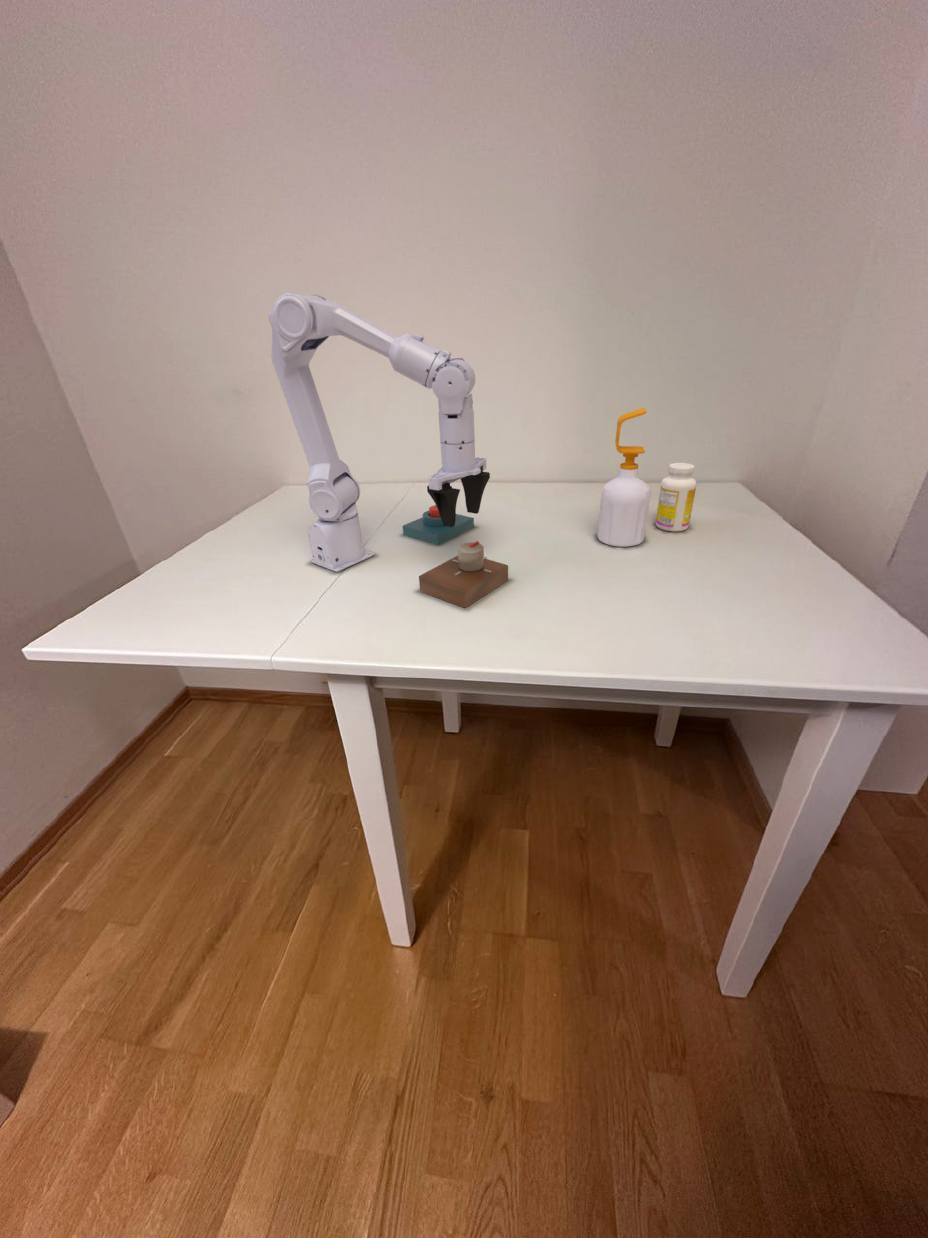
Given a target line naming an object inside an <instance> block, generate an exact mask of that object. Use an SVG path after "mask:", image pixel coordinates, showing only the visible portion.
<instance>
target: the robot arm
mask: <svg viewBox="0 0 928 1238" xmlns="http://www.w3.org/2000/svg"><path fill="white" fill-rule="evenodd" d="M268 320H269V321H268V322H269V324H270V327H271V330H272V331H271V357H270V358H271V362H272V365H273V368H274V370H275V373H276V376H277V379H278V382H279V385H280V388H281V390H282V393H283V396H284V398H285V399H284V400H285V402H286V404H287V407H288V410H289V413H290V415H291V419H292V421H293V424H294V427H295V430H296V432H297V434H298V439H299V440H300V443H301V446H302V448H303V451H304V455H305V457H306V460H307V463H308V465H309V472H308V475H307V480H306V485H307V488H308V492H309V494H308V495H309V498H308V503H309V504H308V505H309V508H310V509H311V511H312V512H313V514H314V515H315V516H316V517H317V518H318V519H317V520H316V521H315V522H313V523H312V524H310V525H309V526H308V530H307V531H308V532H307V534H308V539H309V540H308V541H309V546H310V549H311V553H312V559H311V563H313V564H314V565H318V566H319V567H323V568H325V569H327V570H330V571H333V572H334V573H335V572H336V573H338V572H341V571H343V570H345V569H347V568H349V567H351V566H354V565H356V564H358V563H360V562H362V561H365V560H367V559H369V558H371V557H373V556H375V553H374V552H372V551H369V550H366V549H364V544H363V538H362V531H361V530H362V529H361V525H360V518H359V517H360V516H359V511H358V507H357V502H359V501H358V500H359V499H360V496H361V488H360V485H359V482H358V481H357V480H356V479H355V478H354V477H353V475H352V473H351V470H350V469H349V468H350V467H349V466H348V465H347V463H345V462H344V461H343V460H342V459H340V457H339V454H338V451H337V448H336V447H337V446H336V444H335V442H334V438H333V435H332V433H331V429H330V426H329V423H328V420H327V416H326V414H325V411H324V408H323V405H322V402H321V399H320V396H319V393H318V390H317V387H316V383H315V380H314V378H313V374H312V371H311V368H310V363H311V361H312V359H313V357H314V356H315V353H316V351H317V349H318V348H319V347H320V346H321V345H323V343H325V341H326V340H328V339H329V338H330V337H335V336H342V337H344V338H346V339H347V340H348V339H349V340H351V341H353V342H355V343H356V344H359V345H361V346H363V347H365V348H367V349H369V350H371V351H373V352H375V353H378V354H380V355H382V356H384V357H386V358H388V360H389V362H390V364H391V367H392V370H393V371H395V372H397V373H398V374H400V375H402V376H404V377H406V378H407V379H410V380H411V381H413V382H415V383H417V384H419V385H421V386H422V387H424V388H425V389H428V390H431V389H432V393H434V395H435V397H436V398H437V401H438V402H437V403H438V424H439V439H440V444H439V445H440V455H441V458H440V459H441V467H440V468H439V469H438V470H437V471H436V472H435V473H434V474H433V475H430V476H428V477H427V478H428V485H427V486H426V490H427V491H426V492H427V493H428V495H429V496H430V497H431V499H432V500H433V503H434V504H435V505H436V506H437V508H438V511H439V514H440V517H441V520H442V523H443V525H444V526H448V527H454V526H455V521H456V514H457V503H458V498H459V495H460V492H461V488H454V487H453V485H451V484H452V483H456V481H459V480H460V482H461V484H462V488H463V492H464V493H463V494H464V500H465V507H466V511H467V513H470V514H476V515H478V514H479V512H480V509H481V504H482V499H483V495H484V491H485V488H486V486H487V484H488V481H489V480H490V479H491V473H490V472H488V471H486V470H487V469H488V468H487V458H486V457H476V441H475V440H476V439H475V412H474V408H473V407H474V406H473V405H474V399H473V394H472V393H471V392H472V391H473V389H474V388H475V384H476V374H475V371H474V369H473V367H472V365H471V364H470V363H469V362H468V361H466V360H465V359H464V358H463V357H453V358H452V357H451V356H452V352H451V351H449V350H447V349H445V350H443V351H442V350H441V349H439V348H436V347H435V346H432V345H431V344H429V343H428V342H425V341H424V340H425V336H423V335H422V334H420V333H414V334H410V333H404V334H402V335H401V336H396V335H395V334H393V333H391V332H389V331H387V330H386V329H384V328H382V327H381V326H379V325H377V324H376V323H374V322H373V321H371V320H369V319H367V318H366V317H364V316H362V315H361V314H359V313H357V312H355V311H354V310H352V309H350V308H349V307H347V306H345V305H343V304H341V303H339V302H338V301H335V300H331V299H328V298H326V297H325V296H323V295H320V294H317V293H316V294H297V293H296V294H295V293H292V292H291V293H290V292H288V293H284V294H282V295H280V296H279V297H278V298H277V299H276V301H275V303H274V305H273V306H272V309H271V310H270V313H269V315H268Z"/></svg>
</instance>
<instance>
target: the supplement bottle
mask: <svg viewBox="0 0 928 1238" xmlns="http://www.w3.org/2000/svg"><path fill="white" fill-rule="evenodd" d="M667 471H668V475H667V476H665V477H663V479H662V480H661V484H660V488H659V489H660V490H659V498H658V503H657V509H656V517H655V526H656V527H657V528H658V529H660V530H661V531H666V532H683V531H685V530H687V529H688V528H689V527H690V523H691V518H692V516H691V515H692V511H693V507H694V501H695V500H694V499H695V495H696V489H697V484H698V483H697V480H696V479H695V478H694V477H692V476H693V474H694V472H695V465H694V464H692V463H688V462H674V463H673V462H672V463H669V465H668V470H667Z"/></svg>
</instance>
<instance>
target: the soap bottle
mask: <svg viewBox="0 0 928 1238" xmlns="http://www.w3.org/2000/svg"><path fill="white" fill-rule="evenodd" d="M646 414H647V410H646V408H645V407H643V408H639V409H636V410H633V411H629V412H626V413H623V414H621V415H620V416H619V418H618V419H617V424H616V432H615V441H614V442H615V448H616V451H617V452H618V453H619V454H622V457H623V458H624V462H622V463H620V465H619V471H618V472H619V473H618V475H617V476H616V477H614V478H613V479H610V480H609V481H608V482H607V483H605V484H604V486H603V488H602V490H601V493H600V503H599V513H598V523H597V534H596V537H597V539H598V540H599V541H600V542H601V543H603V544H604V545H608V546H611V547H619V548H628V547H634V546H638V545H640V544H641V543H642V542H644V539H645V534H646V527H647V521H648V520H647V519H648V514H649V508H650V507H649V506H650V499H651V494H652V491H651V488H650V486H649V485H648V484H647V483H646V482H645V481H644V480H642V479H640V477H638V472H639V463H635V461H636V460H635V459H636V458H638V457H639V454H640V455H642V454H645V452H646V451H645V450H646V449H645V447H644V446H634V445H632V446H631V445H630V446H628V445H627V446H626V445H625V446H624V445H623V446H622V445H620V437H621V429H622V425H623V423H624V422H626V421H628V420H631V419H634V418H637V417H640V416H644V415H646Z"/></svg>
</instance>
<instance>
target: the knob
mask: <svg viewBox="0 0 928 1238" xmlns="http://www.w3.org/2000/svg"><path fill="white" fill-rule="evenodd" d="M484 548H485V547H484V545H483V544H482V543H480V541H478V540H477V541H475V542H463V543H461V544H459V545H458V546H457V556H458V564H459V568H460V569H461V570H464V571H478V570H480V569H482V568H483V567H484V557H485V549H484Z"/></svg>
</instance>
